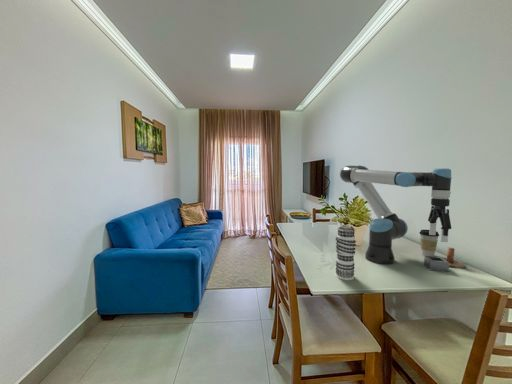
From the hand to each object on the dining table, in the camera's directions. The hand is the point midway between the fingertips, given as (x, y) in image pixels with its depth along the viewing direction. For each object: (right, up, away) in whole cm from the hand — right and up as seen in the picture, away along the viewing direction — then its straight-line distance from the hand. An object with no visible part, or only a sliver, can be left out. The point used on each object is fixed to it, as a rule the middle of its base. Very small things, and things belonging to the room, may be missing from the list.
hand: (437, 238), depth 122 cm
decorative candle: (-53, -17, -8) cm, 56 cm away
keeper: (+12, -16, +7) cm, 21 cm away
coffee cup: (+10, -15, +21) cm, 28 cm away
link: (0, -16, +1) cm, 16 cm away
